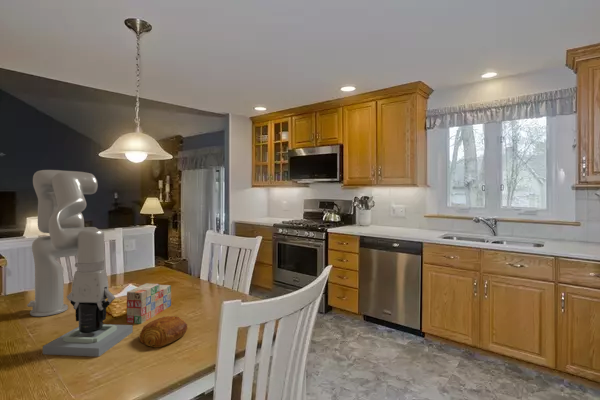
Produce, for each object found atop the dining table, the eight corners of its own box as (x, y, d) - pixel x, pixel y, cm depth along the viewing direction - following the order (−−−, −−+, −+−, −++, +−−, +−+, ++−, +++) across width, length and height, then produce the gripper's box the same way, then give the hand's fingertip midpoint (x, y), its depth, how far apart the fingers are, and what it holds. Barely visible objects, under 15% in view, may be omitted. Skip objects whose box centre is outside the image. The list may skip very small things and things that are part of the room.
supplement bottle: (85, 325, 113) (86, 290, 113) (106, 325, 114) (106, 290, 114) (73, 334, 106) (74, 296, 106) (96, 333, 107) (96, 296, 107)
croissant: (194, 340, 118) (197, 317, 119) (159, 352, 104) (162, 326, 105) (164, 331, 124) (167, 309, 125) (127, 342, 110) (131, 317, 111)
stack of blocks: (158, 305, 148) (158, 277, 148) (171, 305, 147) (171, 278, 147) (126, 323, 127) (126, 291, 127) (141, 324, 126) (141, 292, 126)
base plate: (42, 354, 102) (42, 342, 102) (84, 330, 120) (84, 320, 120) (98, 356, 100) (98, 344, 100) (132, 332, 118) (132, 321, 118)
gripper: (57, 268, 107) (57, 323, 107) (109, 270, 105) (108, 325, 106) (74, 263, 114) (74, 315, 114) (123, 265, 113) (122, 317, 113)
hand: (90, 319), depth 110 cm, fingers closed on supplement bottle, 6 cm apart
